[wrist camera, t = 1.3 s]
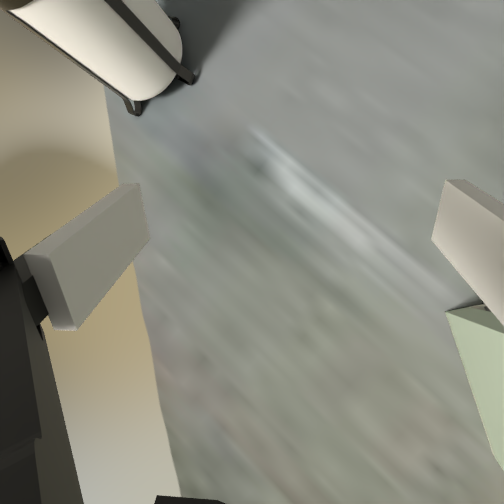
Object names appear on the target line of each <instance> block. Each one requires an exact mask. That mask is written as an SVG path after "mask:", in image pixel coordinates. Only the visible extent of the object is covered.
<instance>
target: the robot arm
mask: <svg viewBox="0 0 504 504" xmlns="http://www.w3.org/2000/svg"><path fill="white" fill-rule="evenodd" d="M149 239H150V234H149V229H148V224H147V220H146V215H145V210H144V205H143V200H142V195H141V190H140V185H139V183H137V184H122V185H120V186H119V187H118V188H116V189H115V190H113V191H112V192H110V193H109V194H108V195H106V196H105V197H103V198H102V199H101V200H99V201H98V202H96V203H95V204H94V205H92V206H91V207H89V208H88V209H87V210H85V211H84V212H82V213H81V214H80V215H78V216H77V217H75V218H74V219H73V220H71V221H70V222H68V223H67V224H65V225H64V226H63V227H61V228H60V229H58V230H57V231H55V232H54V233H53V234H51V235H49V236H48V237H46V238H45V239H44V240H42V241H41V242H40V243H38V244H36V245H35V246H34V247H33V248H31V249H30V250H28V251H27V252H25V253H24V254H22V255H21V256H20V257H18V258H17V259H15V260H14V261H13V259H12V257H11V255H10V253H9V250H8V248H7V245H6V243H5V241H4V239H3V238H2V237H0V504H84V503H83V498H82V494H81V489H80V485H79V481H78V476H77V472H76V468H75V464H74V459H73V455H72V451H71V446H70V442H69V438H68V434H67V430H66V425H65V421H64V416H63V412H62V408H61V403H60V399H59V395H58V391H57V387H56V382H55V378H54V374H53V369H52V365H51V361H50V356H49V352H48V348H47V344H46V339H45V335H44V332H43V329H42V327H41V324H40V323H41V321H42V320H43V319H44V318H45V317H46V316H47V315H48V316H49V318H50V321H51V323H52V326H53V328H54V330H78V328H79V327H80V326H81V325H82V323H83V322H84V321H85V320H86V318H87V317H88V316H89V315H90V313H91V312H92V311H93V309H94V308H95V307H96V306H97V305H98V303H99V302H100V301H101V299H102V298H103V297H104V296H105V294H106V293H107V292H108V291H109V290H110V288H111V287H112V286H113V285H114V283H115V282H116V281H117V280H118V278H119V277H120V276H121V275H122V273H123V272H124V271H125V270H126V268H127V267H128V265H130V263H131V262H132V261H133V260H134V258H135V257H136V256H137V255H138V253H139V252H140V251H141V249H142V248H143V247H144V246H145V244H146V243H147V242H148V241H149ZM431 240H432V241H433V242H434V244H435V245H436V246H437V247H438V248H439V250H440V251H441V252H442V253H443V254H444V256H445V257H446V258H447V259H448V260H449V262H450V263H451V264H452V265H453V266H454V267H455V269H456V270H457V271H458V272H459V273H460V275H461V276H462V277H463V278H464V279H465V281H466V282H467V283H468V284H469V285H470V287H471V288H472V289H473V290H474V291H475V292H476V294H477V295H478V296H479V297H480V298H481V300H482V301H483V302H484V303H485V304H486V306H487V307H488V308H489V309H490V310H491V312H492V313H493V314H494V315H495V316H496V318H497V319H498V320H499V321H500V322H501V323H502V325H503V326H504V204H503V203H501V202H500V201H498V200H497V199H495V198H493V197H492V196H490V195H489V194H487V193H485V192H484V191H482V190H481V189H479V188H478V187H476V186H474V185H473V184H471V183H470V182H468V181H466V180H445V183H444V188H443V192H442V196H441V200H440V205H439V209H438V213H437V217H436V222H435V226H434V230H433V234H432V239H431ZM154 504H225V503H223V502H220V501H218V500H208V499H196V498H183V497H171V496H159V495H157V497H156V500H155V503H154Z"/></svg>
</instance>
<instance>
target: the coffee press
mask: <svg viewBox="0 0 504 504" xmlns="http://www.w3.org/2000/svg"><path fill="white" fill-rule="evenodd" d="M0 9H1V10H2V11H4V12H5V13H6V14H7V15H9V16H10V17H11V18H12V19H14V20H15V21H16V22H18V23H19V24H21V25H22V26H23V27H25V28H26V29H28V30H29V31H30V32H32V33H33V34H35V35H36V36H37V37H39V38H40V39H41V40H43V41H44V42H46V43H47V44H48V45H50V46H51V47H52V48H54V49H55V50H57V51H58V52H59V53H61V54H62V55H63V56H65V57H66V58H68V59H69V60H71V61H72V62H73V63H75V64H76V65H77V66H79V67H80V68H81V69H83V70H84V71H86V72H87V73H88V74H90V75H91V76H92V77H94V78H95V79H97V80H98V81H99V82H101V83H102V84H103V85H105V86H106V87H108V88H109V89H110V90H112V91H113V92H114V93H116V94H117V95H119V96H120V97H121V98H122V99H123V101H124V103H125V105H126V108H127V111H128V113H130V114H132V115H135V116H140V115H141V113H142V107H141V100H147V99H150V98H153V97H155V96H156V95H158V94H160V93H161V92H162V91H163V90H165V89H166V88H167V87H168V85H169V84H170V83H171V82H172V80H173V79H174V77H175V78H177V79H179V80H181V81H182V82H184V83H186V84H187V85H192V82H193V80H194V78H195V75H194V74H193V73H192V72H191V71H189V70H188V69H186V68H185V67H184V66H182V65H181V64H180V63H181V59H182V41H181V37H180V34H179V32H178V29H179V26H180V22H179V19H178V18H176V17H172V16H167V15H166V14H165V12H164V11H163V10H162V9H161V7H160V6H159V5H158V4H157V2H156V1H155V0H0ZM169 18H171V19H172V21H171V20H170V19H169ZM127 98H128V99H130V100H134V105H135V111H134V110H133V107H132V105H131V103H130V101H129V100H128V99H127Z"/></svg>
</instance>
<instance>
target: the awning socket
mask: <svg viewBox="0 0 504 504" xmlns="http://www.w3.org/2000/svg"><path fill="white" fill-rule="evenodd" d="M445 313H446V316H447V319H448V322H449V325H450V328H451V331H452V334H453V337H454V340H455V343H456V346H457V349H458V352H459V354H460V357H461V360H462V363H463V366H464V369H465V372H466V375H467V378H468V381H469V384H470V387H471V390H472V393H473V396H474V399H475V402H476V405H477V408H478V411H479V414H480V417H481V420H482V423H483V426H484V429H485V432H486V435H487V438H488V441H489V443H490V446H491V449H492V452H493V455H494V457H495V458H496V460H497V462H498V463H499V465H500V466H501V468H502V469H503V471H504V326H503V325H502V323H501V322H500V321H499V320H498V319H497V318H496V316H495V315H494V314H493V313H492V312H491V310H490V309H489V308H488V307H487V306H486V304H481V305H476V306H471V307H466V308H461V309H456V310H451V311H446V312H445Z"/></svg>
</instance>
